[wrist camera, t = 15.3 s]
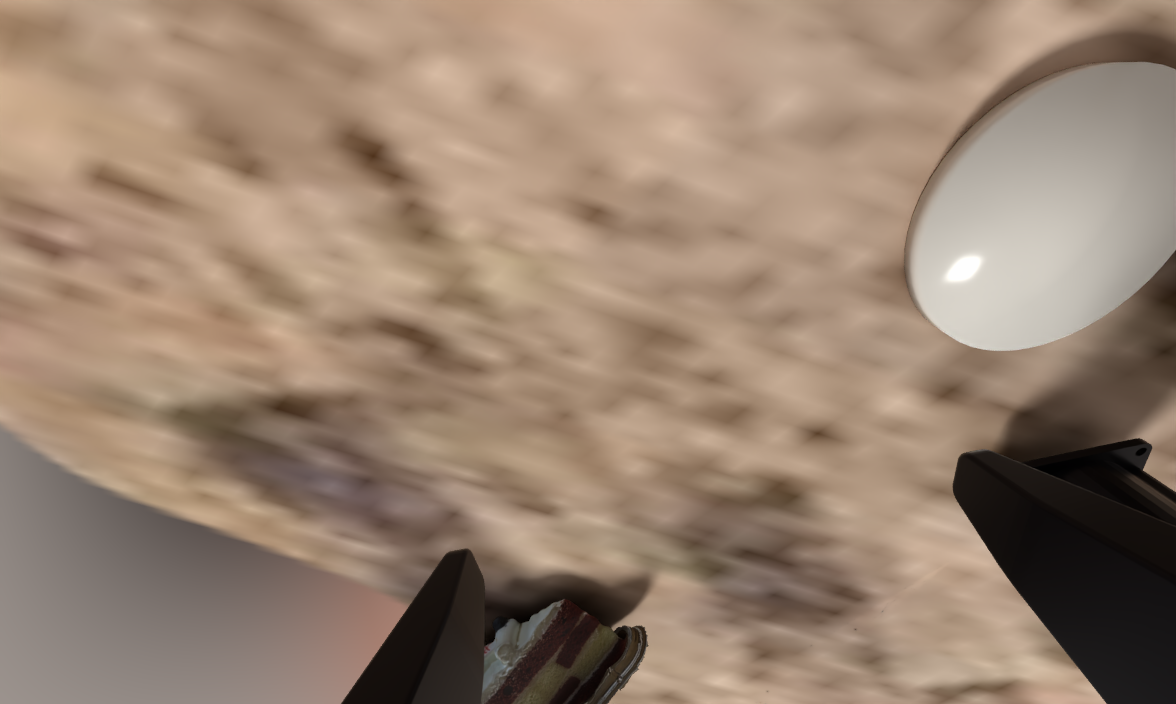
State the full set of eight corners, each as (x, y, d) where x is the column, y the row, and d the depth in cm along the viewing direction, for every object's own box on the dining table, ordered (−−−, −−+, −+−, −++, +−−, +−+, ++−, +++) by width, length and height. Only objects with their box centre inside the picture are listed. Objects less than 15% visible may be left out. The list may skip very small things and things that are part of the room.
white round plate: (1236, 28, 18) (1272, 25, 17) (1136, 310, 23) (1159, 319, 22) (919, 103, 18) (938, 104, 17) (893, 363, 23) (906, 374, 22)
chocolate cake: (566, 556, 27) (403, 794, 22) (659, 636, 28) (523, 881, 23) (522, 538, 36) (398, 707, 31) (595, 599, 37) (485, 772, 32)
